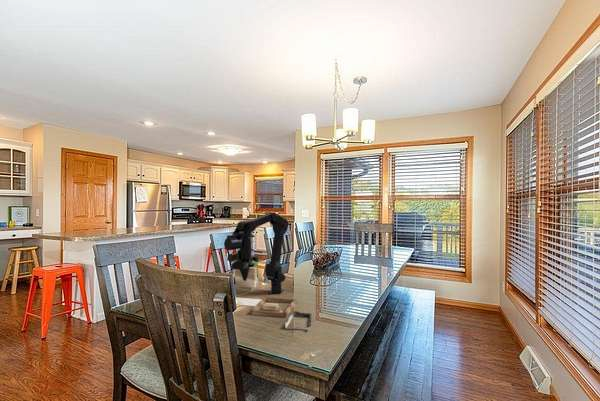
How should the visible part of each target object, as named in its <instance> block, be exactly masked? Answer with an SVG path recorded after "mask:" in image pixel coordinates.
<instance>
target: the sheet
mask: <svg viewBox="0 0 600 401" xmlns="http://www.w3.org/2000/svg"><path fill="white" fill-rule="evenodd" d="M234 280H235V281H234V282H235V284H234V285H235V287H236V288H238V287H239V288H256V287H257V286H258V283H257V270H256V267H250V268H249V272H248V275H247V279H246V281H244V280H243V277H242V275H241V272H240V270H239V269H234Z"/></svg>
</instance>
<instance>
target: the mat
mask: <svg viewBox="0 0 600 401" xmlns="http://www.w3.org/2000/svg"><path fill="white" fill-rule="evenodd" d="M236 298H237V305H236V306H245V307H255V306H256V305H257V304H258V303H259V302H260V301H261V300H262V299H263V298H262V299H259V298H245V297H236ZM238 299H239V300H238Z"/></svg>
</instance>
